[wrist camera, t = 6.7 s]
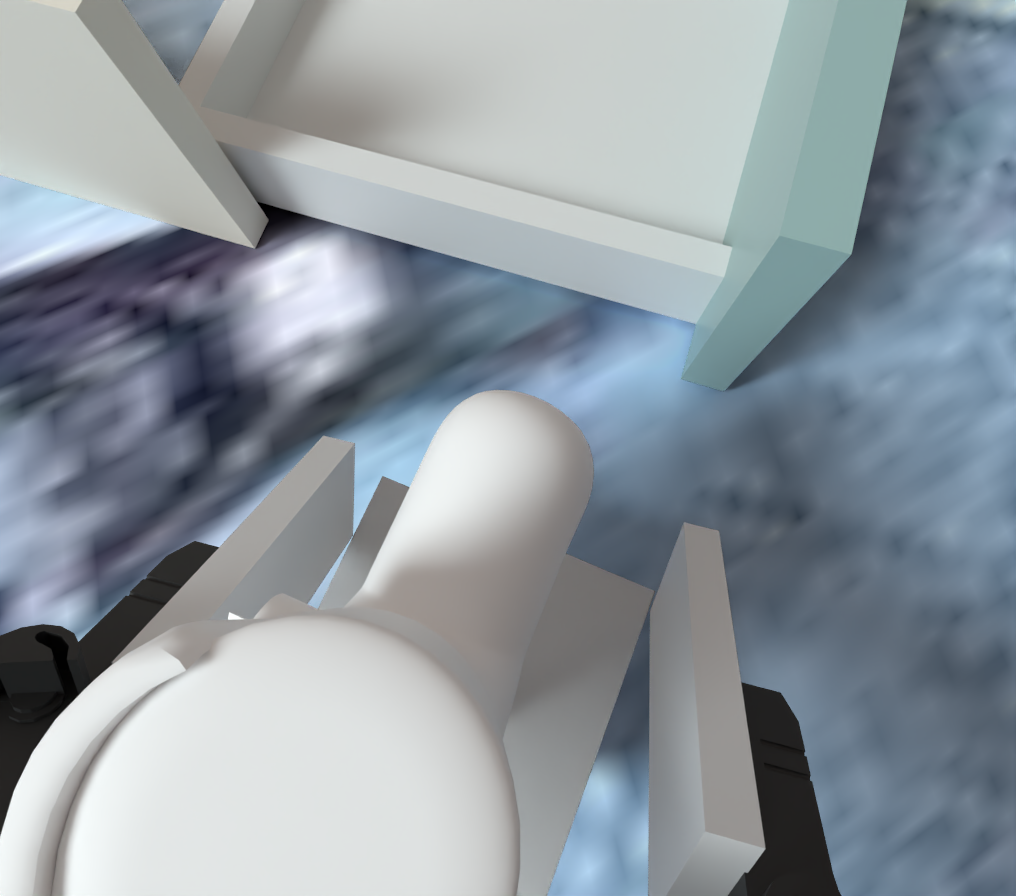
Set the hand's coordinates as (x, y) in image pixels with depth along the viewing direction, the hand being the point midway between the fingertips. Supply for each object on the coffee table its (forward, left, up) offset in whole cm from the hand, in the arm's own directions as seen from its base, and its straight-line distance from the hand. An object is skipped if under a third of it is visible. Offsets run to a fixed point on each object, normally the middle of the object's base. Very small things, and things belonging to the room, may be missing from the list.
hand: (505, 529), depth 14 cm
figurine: (-2, +3, -5) cm, 6 cm away
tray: (+14, -11, -5) cm, 18 cm away
